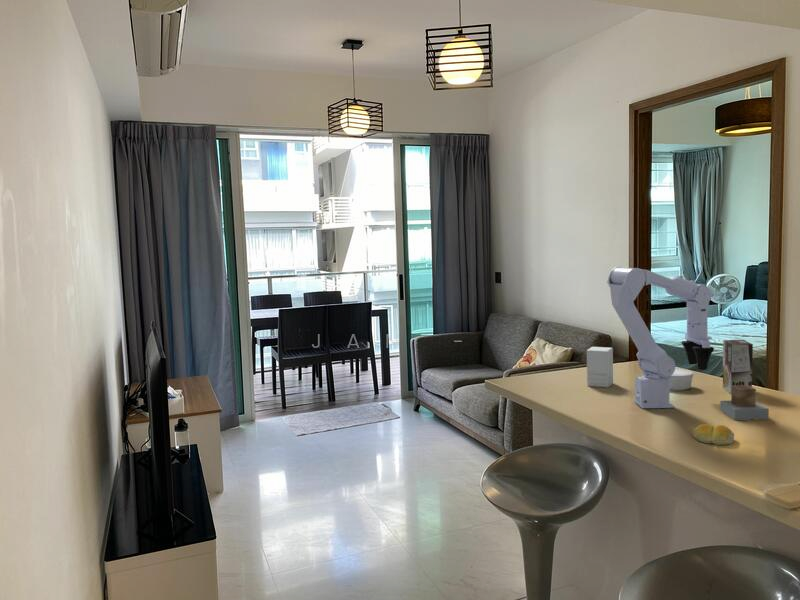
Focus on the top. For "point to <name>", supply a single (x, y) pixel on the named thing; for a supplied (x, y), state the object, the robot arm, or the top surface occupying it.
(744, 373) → the coffee box
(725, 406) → the block
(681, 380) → the ramekin
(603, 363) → the supplement box
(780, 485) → the top surface
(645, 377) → the robot arm
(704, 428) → the bread roll
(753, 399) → the walnut block
